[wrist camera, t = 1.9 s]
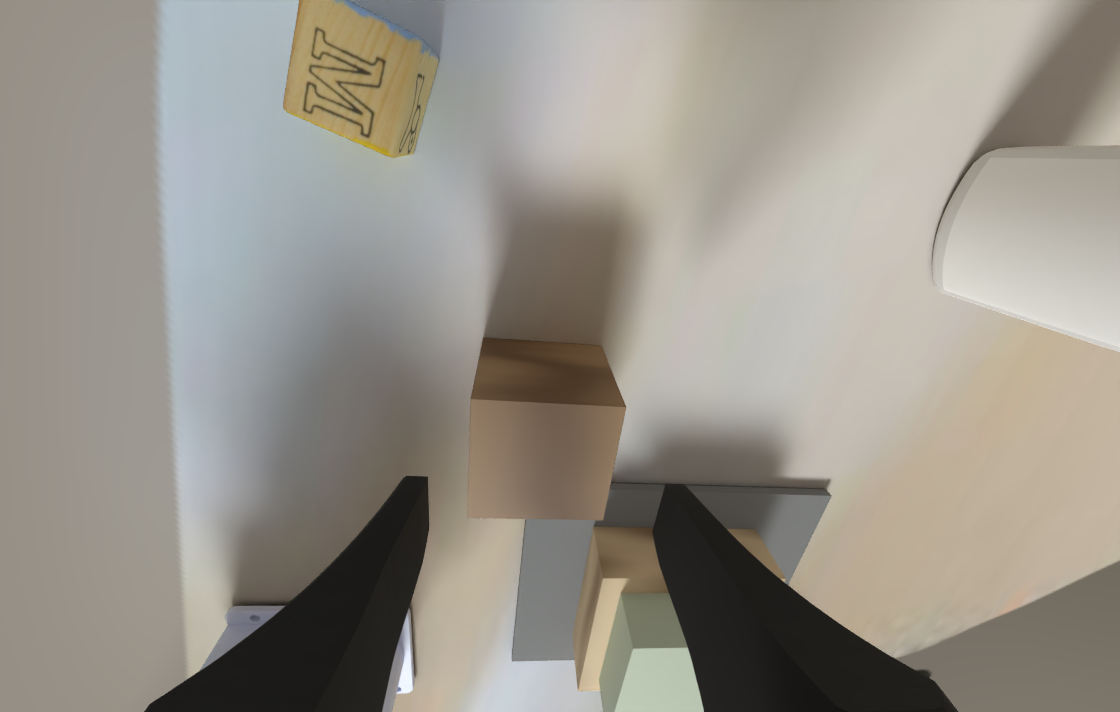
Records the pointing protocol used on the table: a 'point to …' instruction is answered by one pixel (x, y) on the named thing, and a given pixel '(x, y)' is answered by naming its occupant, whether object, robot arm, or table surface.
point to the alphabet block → (359, 76)
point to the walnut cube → (542, 431)
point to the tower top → (648, 659)
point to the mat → (564, 544)
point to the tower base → (625, 587)
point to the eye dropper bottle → (1038, 239)
